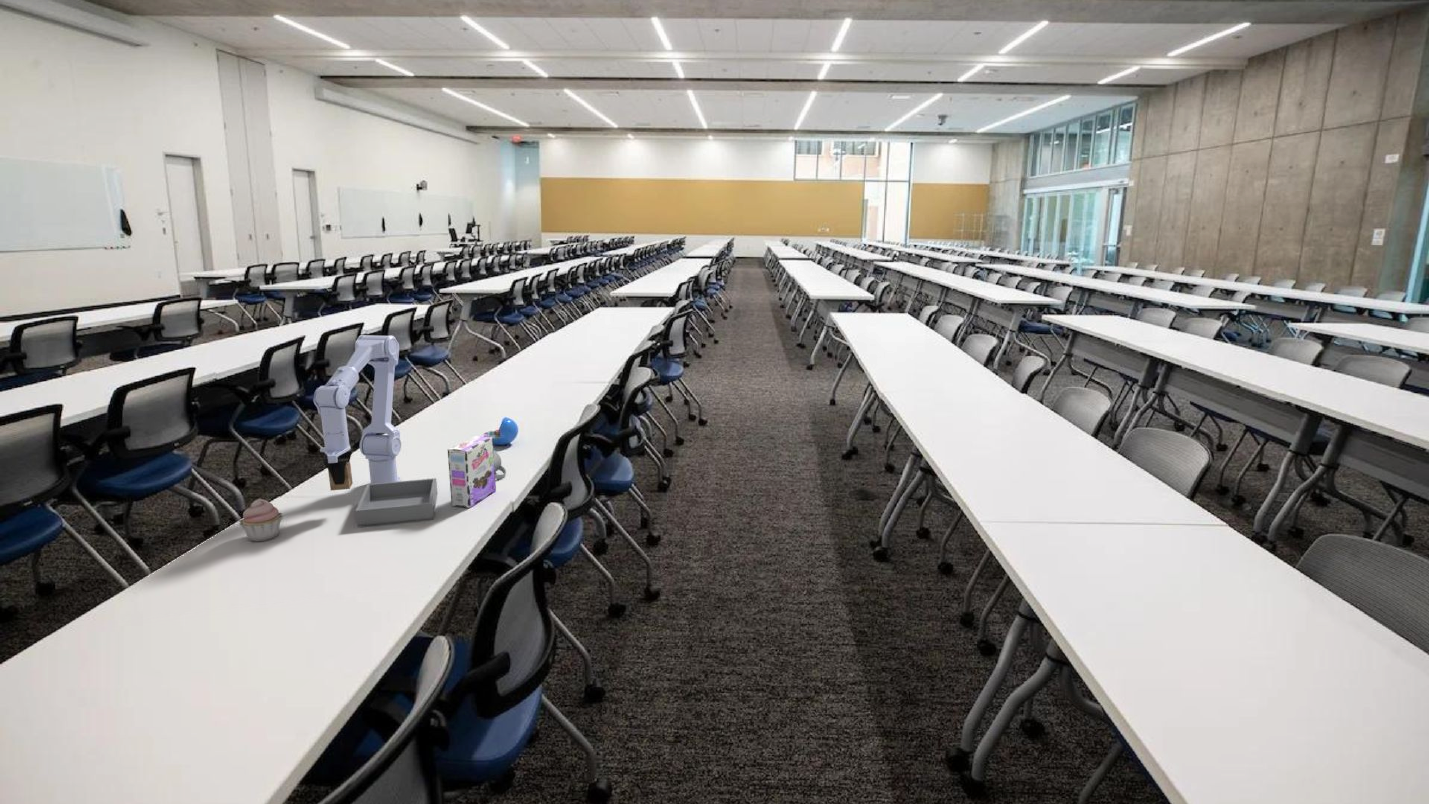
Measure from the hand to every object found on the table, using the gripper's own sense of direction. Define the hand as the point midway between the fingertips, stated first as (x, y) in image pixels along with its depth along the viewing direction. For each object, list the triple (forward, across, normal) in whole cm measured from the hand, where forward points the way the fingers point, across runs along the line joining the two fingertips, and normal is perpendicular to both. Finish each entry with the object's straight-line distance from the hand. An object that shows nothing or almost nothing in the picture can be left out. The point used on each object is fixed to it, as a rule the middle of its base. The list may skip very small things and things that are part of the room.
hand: (341, 480), depth 196 cm
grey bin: (+9, +2, +14) cm, 16 cm away
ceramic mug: (+9, -20, +37) cm, 43 cm away
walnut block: (+2, 0, 0) cm, 2 cm away
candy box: (+9, -2, +33) cm, 34 cm away
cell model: (+9, -53, +41) cm, 67 cm away
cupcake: (+9, +12, -16) cm, 22 cm away
